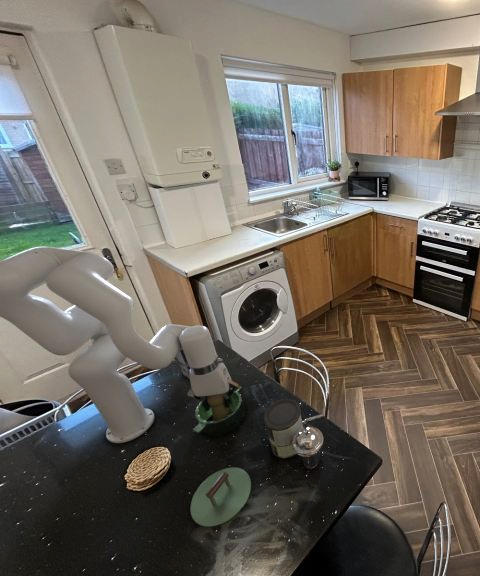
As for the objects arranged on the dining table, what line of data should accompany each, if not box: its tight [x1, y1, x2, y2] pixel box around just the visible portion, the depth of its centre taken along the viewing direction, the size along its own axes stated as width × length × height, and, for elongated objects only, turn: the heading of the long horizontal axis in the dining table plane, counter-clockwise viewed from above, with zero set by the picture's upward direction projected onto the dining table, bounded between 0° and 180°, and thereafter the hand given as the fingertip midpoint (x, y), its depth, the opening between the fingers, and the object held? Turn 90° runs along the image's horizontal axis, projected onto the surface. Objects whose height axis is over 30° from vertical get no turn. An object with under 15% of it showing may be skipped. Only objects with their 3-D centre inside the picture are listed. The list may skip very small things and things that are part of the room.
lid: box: [189, 467, 252, 528], centre depth 81 cm, size 15×15×6 cm
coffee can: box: [263, 398, 304, 459], centre depth 93 cm, size 10×10×14 cm
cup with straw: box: [292, 413, 325, 469], centre depth 87 cm, size 8×9×20 cm
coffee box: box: [175, 349, 190, 380], centre depth 120 cm, size 9×6×16 cm
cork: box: [207, 394, 232, 421], centre depth 102 cm, size 6×6×11 cm
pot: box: [192, 385, 246, 436], centre depth 103 cm, size 14×19×6 cm
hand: (219, 405), depth 101 cm, fingers closed on cork, 5 cm apart
